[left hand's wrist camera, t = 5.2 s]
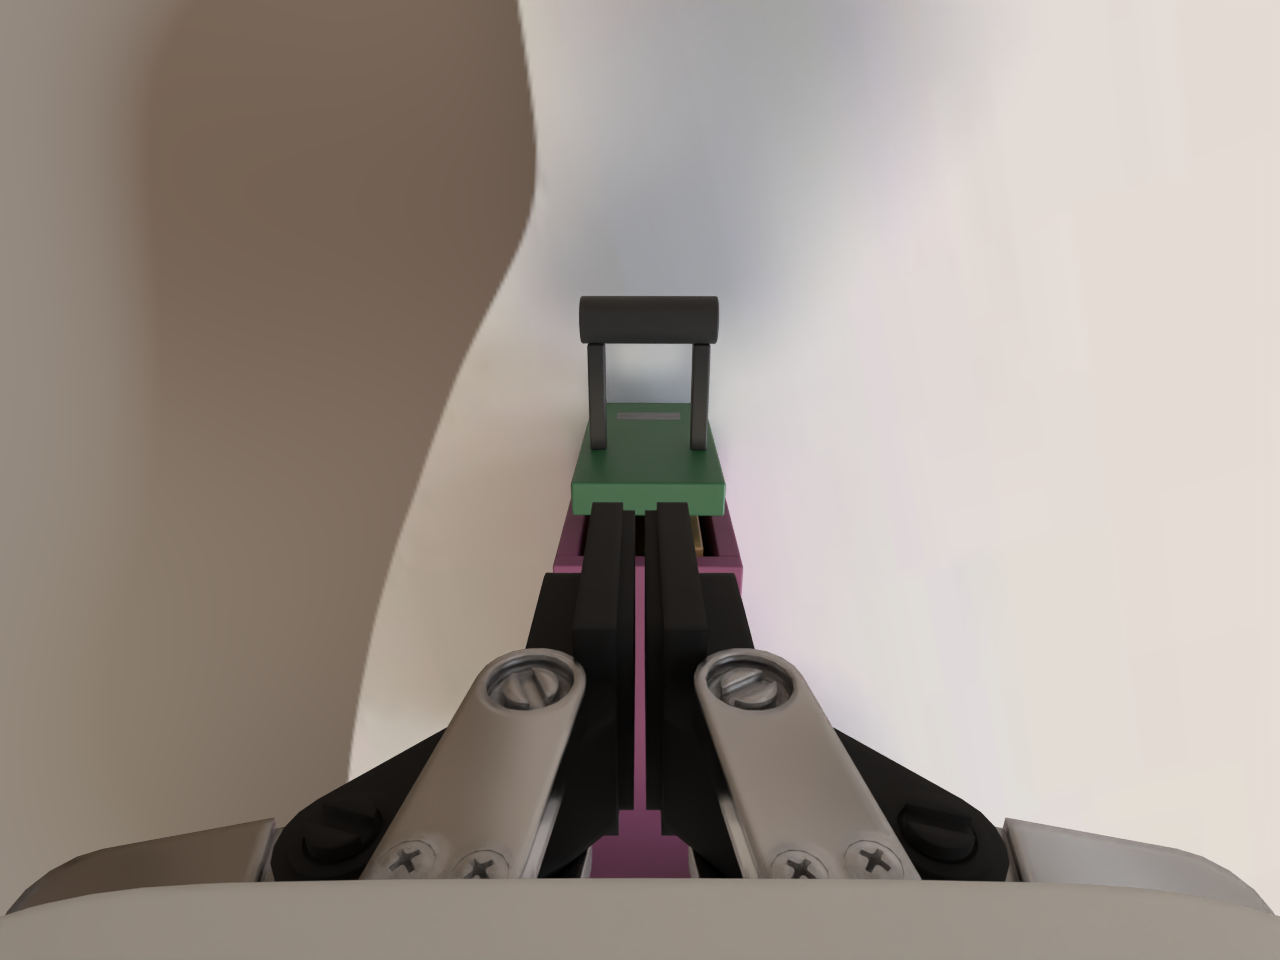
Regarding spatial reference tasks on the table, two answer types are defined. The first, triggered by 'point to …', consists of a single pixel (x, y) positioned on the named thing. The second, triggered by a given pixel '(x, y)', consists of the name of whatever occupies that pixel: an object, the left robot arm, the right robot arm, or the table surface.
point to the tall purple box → (640, 828)
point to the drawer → (649, 415)
